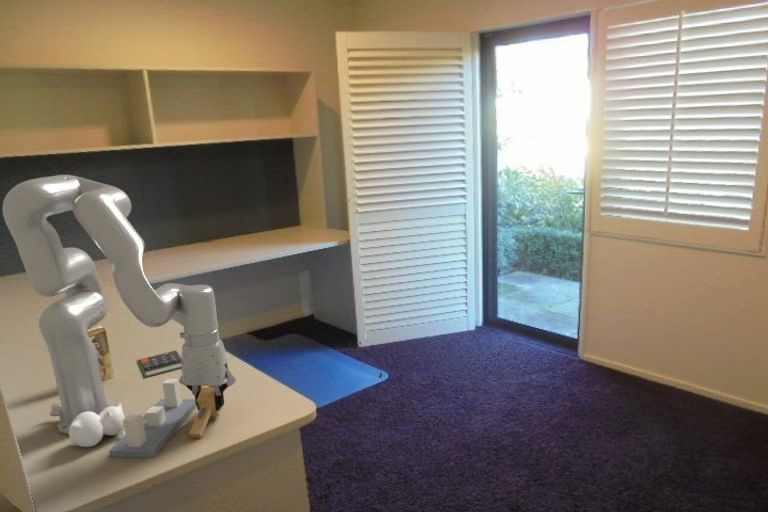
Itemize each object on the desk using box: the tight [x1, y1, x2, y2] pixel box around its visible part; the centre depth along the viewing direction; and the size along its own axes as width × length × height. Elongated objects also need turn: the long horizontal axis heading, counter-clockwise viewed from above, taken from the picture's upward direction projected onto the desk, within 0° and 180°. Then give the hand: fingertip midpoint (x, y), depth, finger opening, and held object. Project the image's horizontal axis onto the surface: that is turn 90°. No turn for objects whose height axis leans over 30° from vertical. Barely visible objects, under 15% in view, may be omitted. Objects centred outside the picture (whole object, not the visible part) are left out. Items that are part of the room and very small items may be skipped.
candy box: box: [87, 325, 115, 382], centre depth 158 cm, size 9×4×15 cm, turn 137°
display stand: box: [108, 378, 197, 458], centre depth 131 cm, size 10×23×8 cm, turn 174°
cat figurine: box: [68, 402, 126, 448], centre depth 127 cm, size 9×11×12 cm
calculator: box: [136, 350, 182, 379], centre depth 169 cm, size 12×1×15 cm
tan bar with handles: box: [189, 386, 224, 439], centre depth 135 cm, size 4×20×6 cm, turn 174°
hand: (210, 407), depth 135 cm, fingers closed on tan bar with handles, 3 cm apart
